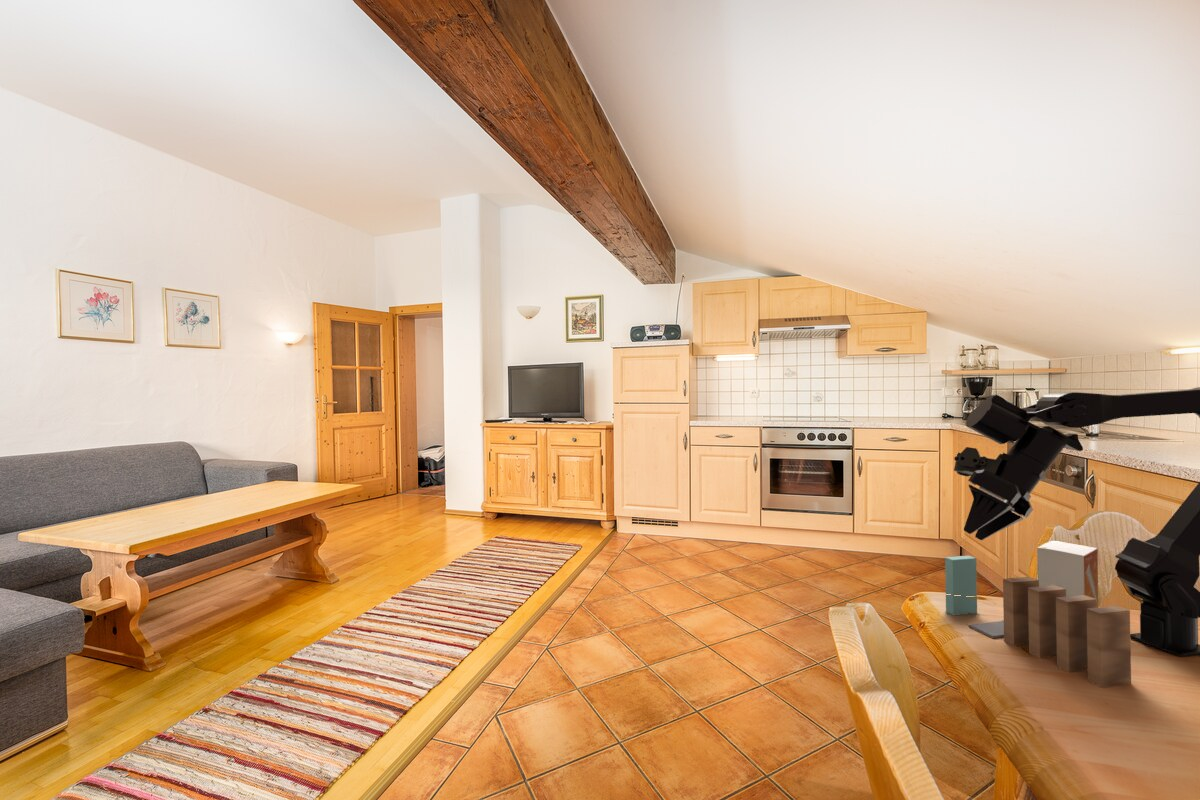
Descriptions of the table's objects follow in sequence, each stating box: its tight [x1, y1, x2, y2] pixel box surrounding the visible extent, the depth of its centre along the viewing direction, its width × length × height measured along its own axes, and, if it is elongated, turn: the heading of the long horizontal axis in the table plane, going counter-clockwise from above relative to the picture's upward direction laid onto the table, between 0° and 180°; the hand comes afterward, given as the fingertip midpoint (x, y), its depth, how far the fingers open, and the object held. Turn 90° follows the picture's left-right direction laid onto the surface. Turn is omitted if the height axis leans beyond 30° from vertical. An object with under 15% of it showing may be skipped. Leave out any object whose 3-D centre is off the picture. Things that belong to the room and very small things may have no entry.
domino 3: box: [1028, 585, 1066, 659], centre depth 77 cm, size 5×2×10 cm, turn 100°
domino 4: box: [1056, 595, 1097, 673], centre depth 73 cm, size 5×2×10 cm, turn 100°
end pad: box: [968, 620, 1004, 639], centre depth 85 cm, size 7×4×1 cm, turn 100°
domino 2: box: [1002, 576, 1039, 646], centre depth 81 cm, size 5×2×10 cm, turn 100°
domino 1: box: [944, 555, 978, 616], centre depth 92 cm, size 5×2×10 cm, turn 100°
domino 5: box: [1087, 605, 1132, 688], centre depth 69 cm, size 5×2×10 cm, turn 100°
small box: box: [1036, 540, 1099, 608], centre depth 88 cm, size 8×6×13 cm
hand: (972, 535), depth 86 cm, fingers open, 9 cm apart
